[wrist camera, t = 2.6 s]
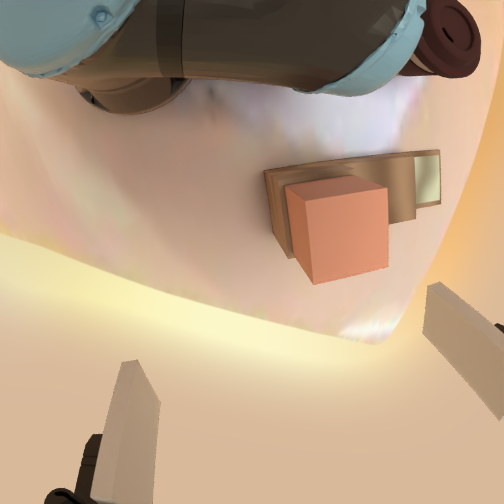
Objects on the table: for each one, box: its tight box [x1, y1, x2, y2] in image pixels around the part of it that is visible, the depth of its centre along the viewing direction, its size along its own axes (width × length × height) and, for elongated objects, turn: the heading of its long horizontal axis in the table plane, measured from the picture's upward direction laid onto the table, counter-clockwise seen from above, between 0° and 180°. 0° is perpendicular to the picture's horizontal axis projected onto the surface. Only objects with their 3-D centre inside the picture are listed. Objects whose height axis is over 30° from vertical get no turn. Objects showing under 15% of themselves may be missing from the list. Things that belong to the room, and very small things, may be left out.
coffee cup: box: [397, 0, 481, 78], centre depth 25 cm, size 10×10×15 cm
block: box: [284, 175, 389, 285], centre depth 28 cm, size 7×7×7 cm
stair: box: [264, 150, 441, 259], centre depth 35 cm, size 26×8×8 cm, turn 99°
